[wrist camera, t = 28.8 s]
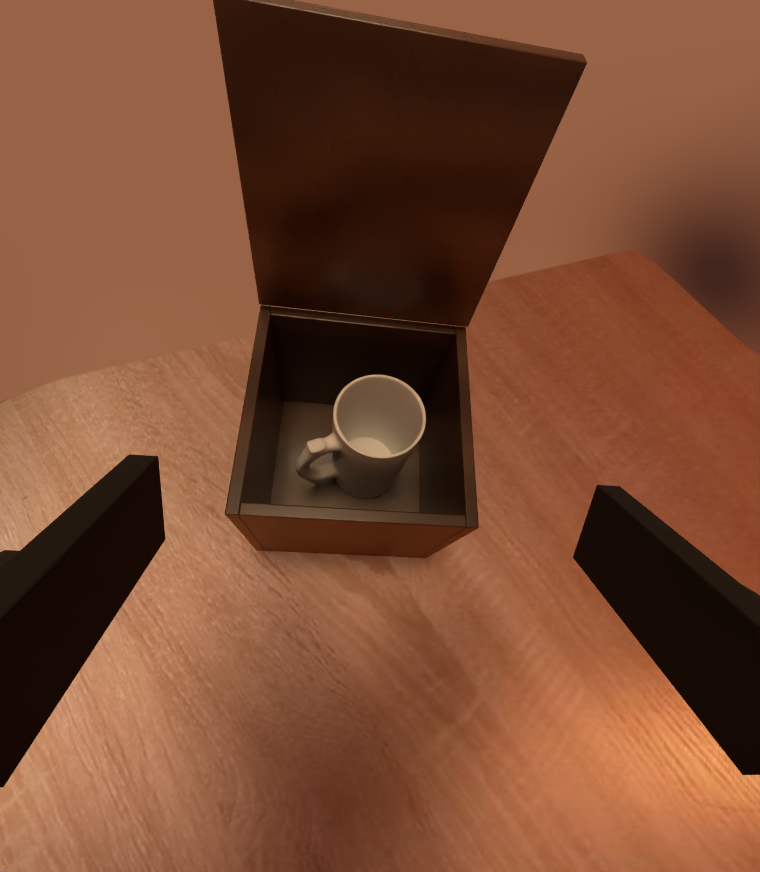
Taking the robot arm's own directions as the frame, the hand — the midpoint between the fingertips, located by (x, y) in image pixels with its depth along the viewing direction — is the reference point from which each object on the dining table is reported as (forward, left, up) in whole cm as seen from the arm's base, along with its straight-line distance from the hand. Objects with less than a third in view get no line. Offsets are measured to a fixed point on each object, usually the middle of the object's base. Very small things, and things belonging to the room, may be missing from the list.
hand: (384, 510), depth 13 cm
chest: (-6, +8, -28) cm, 30 cm away
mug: (-6, +8, -27) cm, 29 cm away
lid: (-11, +15, -5) cm, 19 cm away
